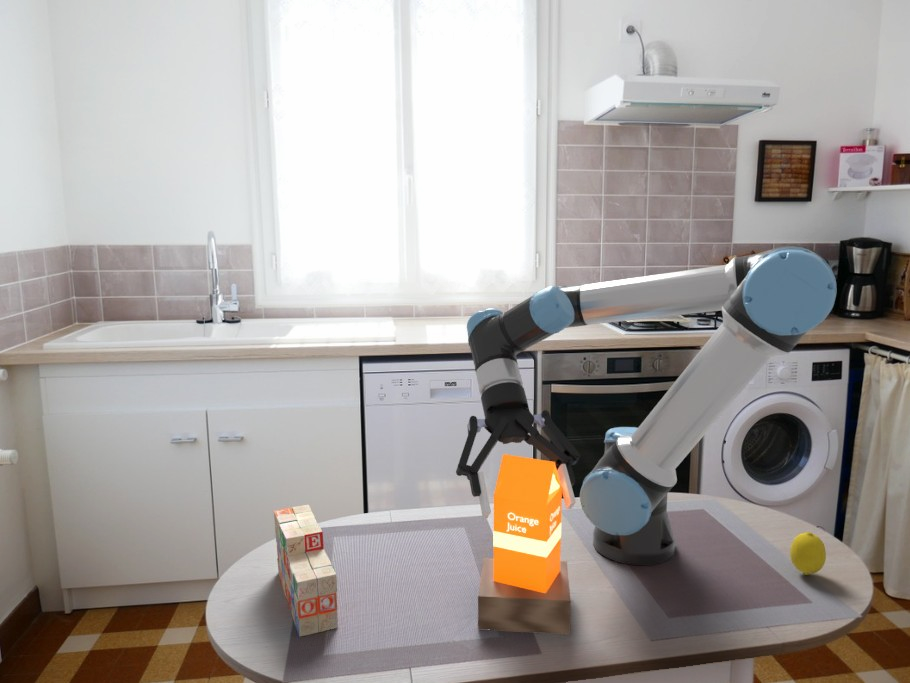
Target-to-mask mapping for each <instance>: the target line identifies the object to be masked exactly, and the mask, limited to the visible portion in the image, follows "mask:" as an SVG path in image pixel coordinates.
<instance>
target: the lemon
mask: <svg viewBox="0 0 910 683" xmlns="http://www.w3.org/2000/svg"><path fill="white" fill-rule="evenodd" d="M789 551H790V552H789V553H790V554H789V555H790V560H791V562H792V565H793V566H794V567H795V568H796V569H797V570H798V571H799V572H802V573H803V574H804V575H805V576H809V575H810V574H815V573H817V572H819V571H821V569H822V568H823V567H824V565H825V564H826V559H827V553H826V551H827V550H826V547H825V543H824V542H823V540H822V539H821V538H820V537H819V536H818V535H816V534H814V533H813V532H811V531H807V532H803V533H799V534H798V535H796V536H795V537H794V538H793V539H792V542H791V546H790V550H789Z"/></svg>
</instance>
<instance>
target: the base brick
mask: <svg viewBox="0 0 910 683" xmlns="http://www.w3.org/2000/svg"><path fill="white" fill-rule="evenodd" d="M479 580H480V581H479V588H478V594H477V623H478V624H477V629H490V630H489V631H494V630H498V631H497V632H514V633H516V632H517V633H532V634H533V633H535V634H553V635H571V603H572V602H571V592H570V591H571V590H570V580H569V569H568V561H564V560H560V572H559V573H558V575H557V576H556V578H555V580H554V581H553V583H552V584H551V586H550V587H549V589H548V590H547V592H546V593H542V592H538V591H534V590H529V589H525V588H521V587H517V586H512V585H508V584H504V583H500V582H496V581H494V557H493V558H492V557H483V558H482V566H481V574H480V579H479Z"/></svg>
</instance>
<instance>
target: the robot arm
mask: <svg viewBox="0 0 910 683" xmlns="http://www.w3.org/2000/svg"><path fill="white" fill-rule="evenodd" d="M837 290H838V289H837V281H836V277H835V274H834V271H833V269H832V268H831V266H830V265H829V264H828V262H827V261H826V260H825V259H824V257H823V256H821V255H820V254H819V253H818V252H816V251H814V250H813V249H811V248H808V247H806V246H803V245H798V244H786V245H785V244H784V245H780V246H778V247H774V248H771V249H768V250H764V251H761V252H757V253H754V254H748V255H744V256H735V257H733V258H732V259H731V260H730V261H729V262H728V263H727V264H724V265H723V264H721V265H714V266H709V267H708V266H707V267H700V268H693V269H685V270H680V271H672V272H665V273H658V274H651V275H650V274H649V275H642V276H637V277H635V276H634V277H629V278H623V279H622V278H621V279H614V280H607V281H600V282H593V283H586V284H582V285H573V286H567V285H564V286H562V285H561V286H557V285H556V286H555V285H549V286H547V287H545V288H544V289H541V290H539V291H536V292H535V293H533V294H532V295H531V296H529V297H527V299H525V300H522V301H521V302H519V304H516V305H515V306H514V307H512V308H510V309H509V310H507V311H504V312H503V311H502V310H500V309H497V308H486V309H485V310H478V311H476V312H474V313H473V314H472V315H471V316H470V317H469V319H468V320H467V323H466V331H467V337H468V338H467V342H468V346H469V348H470V352H471V357H472V360H473V365H474V370H475V371H474V372H475V375H476V376H475V377H476V381H477V385H478V390H479V394H480V400H481V405H482V410H483V414H484V415H483V416H484V418H477V416H475V415H471V416H470V417H469V420H468V423H467V437H466V439H465V440H466V441H465V444H464V446H463V449H462V452H461V455H460V457H459V458H460V459H459V462H458V464H457V467H456V469H455V470H456V471H455V474H456V475H457V476H459V477H461V476H464V477H466V479H467V480H468V481H469V485H470V490H471V491H470V492H471V495H472V496H473V497H474V498H475V497H478V501H479V505H480V510H481V515H482V519H484V520H485V519H488V518H489V517H490V515H491V512H492V511H491V510H492V509H491V505H490V501H489V496H488V495H489V494H488V490H487V485H486V479H485V476H484V474H485V473H484V471H480V470H481V468H482V466H483V464H484V463H485V462H486V460H487V458H488V457H489V455H490V454H491V452H492V451H493V450H494V448H495V447H496V445H497V443H498V442H500V443H501V444H503V445H507V444H510V443H515V444H518V443H519V444H521V443H522V442H525V443H526V444H528V445H529V446H533V447H534V448H535V449H536V450H538V451H539V453H541V454H543V455H544V456H545V457H546V458H547V459H549V461H552V462H555V465H556V467H558V468H557V473H558V477H559V480H560V484H561V487H562V497H563V498H562V499H563V500H564V504H565V505H564V506H565V510H571V509H572V508H573V507H574V506H575V504H576V503H577V501H576V498H575V494H574V491H573V490H574V489H573V486H574V485H575V483H576V479H575V475H574V470H573V468H572V467H573V466H574V465H576V464H577V463H578V461H579V460H580V458H581V453H579V451H578V449H576V447H575V446H574V445H573V444H572V442H570V440H569V439H568V438H567V437H566V436H565V434H564V433H563V432H562V431H561V430H560V429H559V427H558V425H556V424H555V423H554V421H553V419H552V416H551V414H550V412H549V411H548V410H546V409H544V410H542V412H541V413H538V414H532V413H531V411H530V409H529V408H530V407H529V403H528V399H527V396H526V391H525V388H524V387H523V386H524V385H523V384H524V383H523V379H522V375H521V372H520V368H519V363H518V358H517V355H518V354H520V353H521V352H523V351H526V350H528V349H529V348H530V347H533V346H534V345H536V344H538V343H540V342H542V341H544V340H546V339H548V338H549V337H551V336H553V335H556V334H558V333H560V332H561V331H563V330H565V329H567V328H575V327H583V326H584V327H585V326H589V325H590V326H591V325H598V324H607V323H608V324H611V323H618V322H626V321H627V322H628V321H637V320H644V319H645V320H646V319H654V318H656V319H657V318H663V317H664V318H665V317H673V316H682V315H692V314H699V313H700V314H701V313H709V312H718V311H721V313H722V323H721V324H720V325H719V326H718V328H717V329H716V330H715V332H714V333H713V334H712V335H711V336H710V338H709V339H708V340H707V341H706V343H705V344H704V345H703V346H702V347H701V348H700V350H699V352H698V353H697V354H696V355H695V356H694V358H692V359H691V361H690V362H689V364H688V365H687V366H686V368H685V369H684V370H683V372H681V374H680V375H679V376H678V377H677V379H676V380H675V381H674V382H673V383H672V385H671V386H670V387H669V389H668V390H667V391H666V393H664V395H663V396H662V398H661V399H660V400H659V401H658V402H657V404H656V405H655V406H654V407H653V409H652V410H651V411H650V412H649V414H648V415H647V416H646V418H644V420H643V421H642V422H641V423H640V425H638V427H636V426H618V427H617V426H616V427H613V428H610V429H608V430H607V431H606V432H605V435H604V436H605V438H604V440H603V443H604V454H603V455H602V457H601V458H600V459H599V460H598V462H597V464H596V465H595V466H594V468H592V470H591V471H590V472H588V474H587V475H586V476H585V477H584V479H583V481H582V484H581V488H580V492H579V502H580V505H581V509H582V511H583V513H584V515H585V516H586V518H587V519H588V521H589V522H590V523H591V524H592V525H594V527H593V532H592V534H593V535H592V545H593V547H594V549H595V550H596V551H597V552H598V553H599V554H601V555H602V556H604V557H606V558H608V559H609V560H612V561H615V562H618V563H622V564H627V565H635V566H649V565H650V566H651V565H657V564H662V563H665V562H666V561H668V560H670V559H671V558H672V557H673V556H674V554H675V551H676V550H675V547H676V539H675V536H674V531H673V528H672V525H671V522H670V518H669V515H668V510H667V509H668V507H667V506H668V493H669V492H670V491H671V490H672V489H673V487H675V485H676V484H677V483H678V482H677V481H678V478H677V470H676V469H677V468H678V467H679V466H680V464H681V463H682V462H683V461H684V459H685V458H687V456H688V455H689V454H690V452H691V451H692V450H693V449H694V448H695V447H696V446H697V444H698V443H699V442H700V441H701V439H703V437H704V436H705V435H706V434H707V433H708V432H709V430H710V429H711V428H712V427H713V425H714V424H715V423H716V422H717V421H718V420H719V419H720V418H721V416H722V415H723V414H724V413H725V412H726V411H727V409H728V408H729V407H730V406H731V405H732V403H733V402H734V401H735V400H736V399H737V398H738V396H740V394H741V393H742V392H743V391H744V390H745V388H746V387H748V385H749V383H750V382H751V381H752V380H753V379H754V378H755V376H756V375H758V373H759V372H760V371H761V369H763V367H764V366H765V365H766V364H767V362H769V360H770V359H771V358H772V357H775V356H782V355H789V354H790V353H791V351H792V350H793V349H794V348H795V347H796V346H797V345H798V344H799V343H800V341H801V340H802V339H803V338H804V337H805V335H806V334H807V333H808V332H809V331H811V330H813V329H815V328H816V327H817V326H818V325H820V324H821V323H823V321H825V320H826V319H827V317H828V316H829V314H830V313H831V312H832V309H833V308H834V305H835V301H836V297H837V293H838V292H837ZM533 424H536V425H537V426H538V428H541V429H542V431H543V433H544V434H545V435H546V436H547V437H548V439H549V440H550V441H549V440H548V439H547V437H546V438H545V436H543V435H542V434H541V433H540V431H539V430H538V429H537V428H536V427H535V426H533ZM482 428H484V429H485V430H486V431H487V432H488V433H489V434H490V435H489V437H488V440H487V441H486V442H485V444H484V446H482V449H481V450H480V452H479V453H478V455H477V456H476V458H475V459H474V461H473V462H472V463H471V465H469V464H468V461H469V458H470V455H471V452H472V450H473V449H472V448H473V445H474V443H475V439H476V436H477V434H478V433H480V432H481V430H482Z"/></svg>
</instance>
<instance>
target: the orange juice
mask: <svg viewBox="0 0 910 683" xmlns="http://www.w3.org/2000/svg"><path fill="white" fill-rule="evenodd" d="M557 470H558V468H557V465H556V464H555V462H552V461H551V460H545V459H544V460H543V459H538V458H531V457H525V456H518V455H510V454H506V453H502V457H501V462H500V466H499V470H498V476H497V479H496V485H495V488H494V493H493V530H492V531H493V533H492V537H493V538H492V540H493V541H492V542H493V544H492V546H493V558H494V581H496V582H500V583H504V584H508V585H512V586H517V587H521V588H525V589H529V590H534V591H538V592H542V593H546V592H547V590H548V589H549V587H550V586H551V584H552V583H553V581H554V580H555V578H556V576H557V575H558V573H559V572H560V561H561V547H562V546H561V545H562V542H561V541H562V540H561V538H562V503H563V502H562V500H563V498H562V497H563V494H562V487H561V484H560V480H559V477H558V473H557Z"/></svg>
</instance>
